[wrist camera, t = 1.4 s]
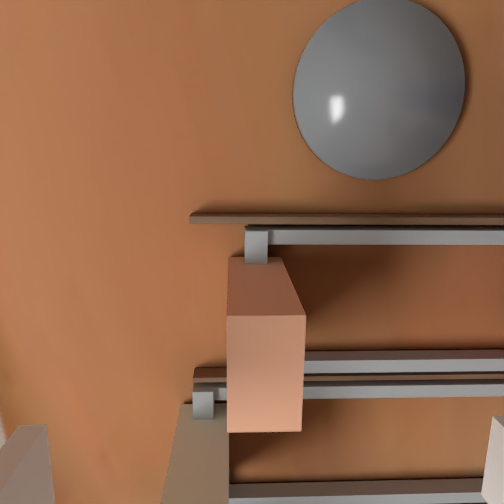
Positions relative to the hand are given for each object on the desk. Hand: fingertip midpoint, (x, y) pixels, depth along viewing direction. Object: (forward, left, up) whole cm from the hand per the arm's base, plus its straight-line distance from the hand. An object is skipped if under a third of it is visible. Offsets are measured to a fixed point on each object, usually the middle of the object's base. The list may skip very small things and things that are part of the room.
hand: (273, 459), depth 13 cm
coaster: (-12, +6, -13) cm, 19 cm away
